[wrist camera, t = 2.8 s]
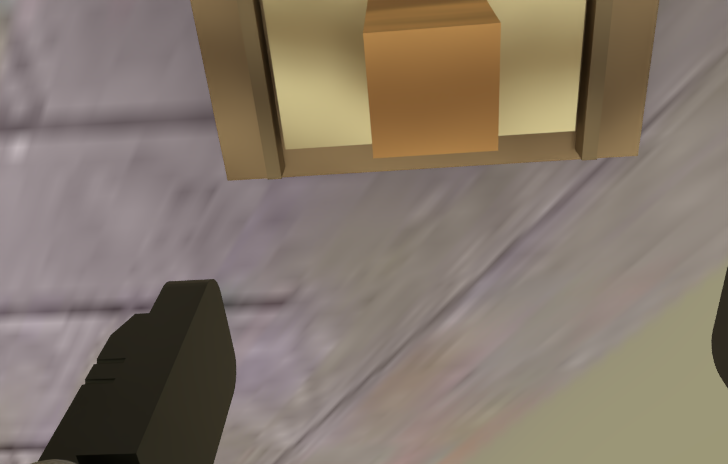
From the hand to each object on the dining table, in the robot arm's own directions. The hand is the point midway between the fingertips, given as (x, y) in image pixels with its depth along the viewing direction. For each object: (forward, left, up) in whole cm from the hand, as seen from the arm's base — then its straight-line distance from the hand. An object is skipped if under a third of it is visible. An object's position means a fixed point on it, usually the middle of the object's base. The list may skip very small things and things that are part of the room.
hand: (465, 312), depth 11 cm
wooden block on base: (0, 0, -18) cm, 18 cm away
